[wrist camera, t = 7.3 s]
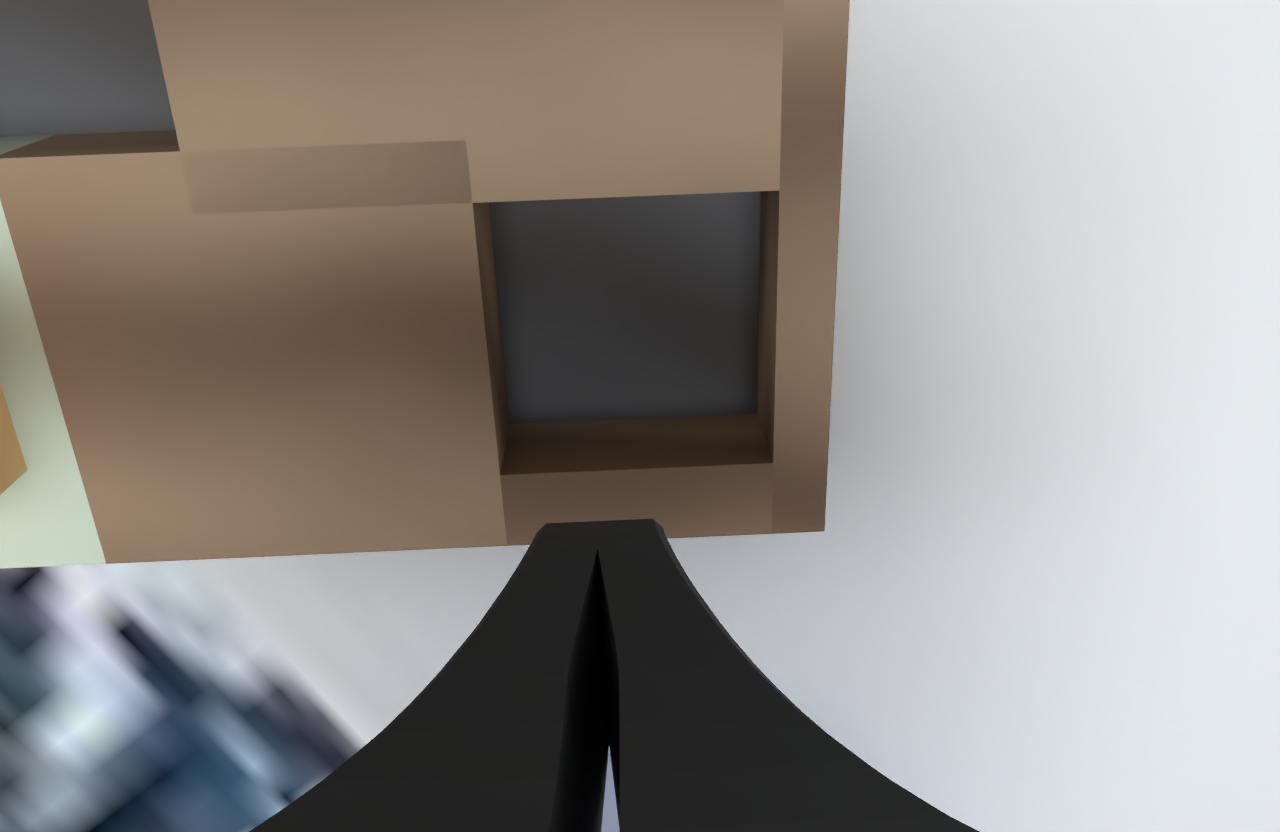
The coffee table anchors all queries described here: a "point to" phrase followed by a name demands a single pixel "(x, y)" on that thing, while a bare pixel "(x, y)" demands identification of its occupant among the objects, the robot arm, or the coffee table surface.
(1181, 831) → the coffee table surface
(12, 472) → the block
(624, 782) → the robot arm
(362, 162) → the trap board
